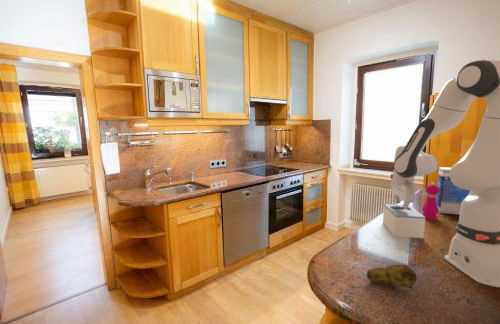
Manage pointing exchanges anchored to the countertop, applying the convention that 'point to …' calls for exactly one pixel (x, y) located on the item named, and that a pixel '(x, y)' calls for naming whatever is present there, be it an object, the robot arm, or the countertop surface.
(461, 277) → the countertop surface
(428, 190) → the pepper mill
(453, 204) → the string lights box
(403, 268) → the potato
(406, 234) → the coin box
